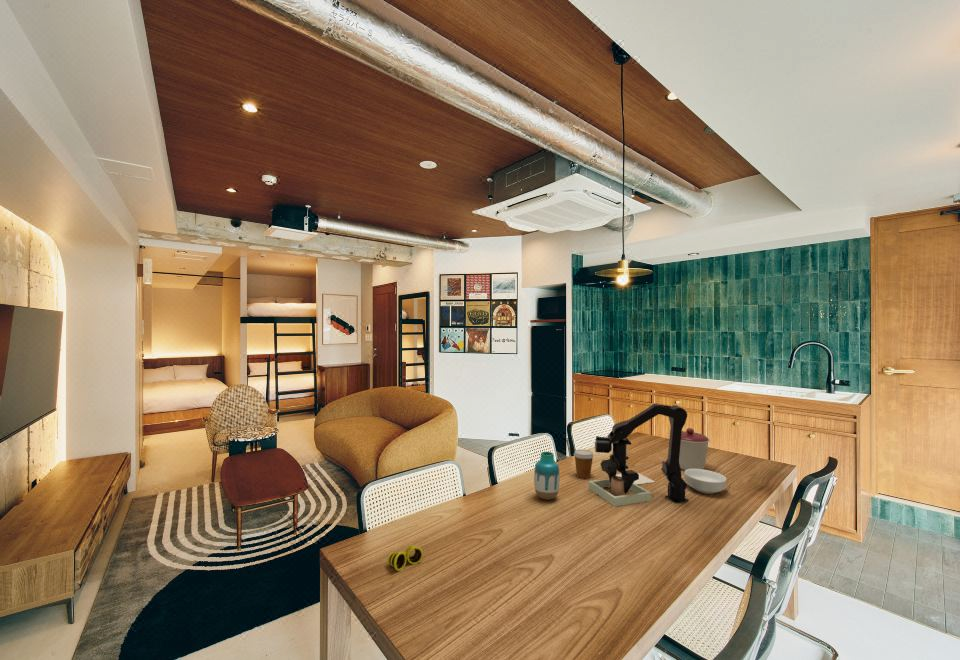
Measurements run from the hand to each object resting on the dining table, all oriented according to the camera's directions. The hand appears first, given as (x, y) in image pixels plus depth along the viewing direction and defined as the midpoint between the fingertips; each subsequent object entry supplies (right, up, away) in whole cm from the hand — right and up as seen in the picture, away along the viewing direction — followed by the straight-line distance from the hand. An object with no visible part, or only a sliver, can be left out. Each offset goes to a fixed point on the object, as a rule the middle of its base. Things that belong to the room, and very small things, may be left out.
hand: (618, 489), depth 174 cm
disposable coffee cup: (-10, -2, +21) cm, 23 cm away
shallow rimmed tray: (0, -3, 0) cm, 3 cm away
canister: (+49, -3, +34) cm, 59 cm away
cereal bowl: (+41, -3, +6) cm, 42 cm away
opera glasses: (-84, -2, -52) cm, 99 cm away
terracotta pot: (0, -3, 0) cm, 3 cm away
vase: (-32, -2, -4) cm, 33 cm away
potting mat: (+14, -3, +18) cm, 23 cm away
